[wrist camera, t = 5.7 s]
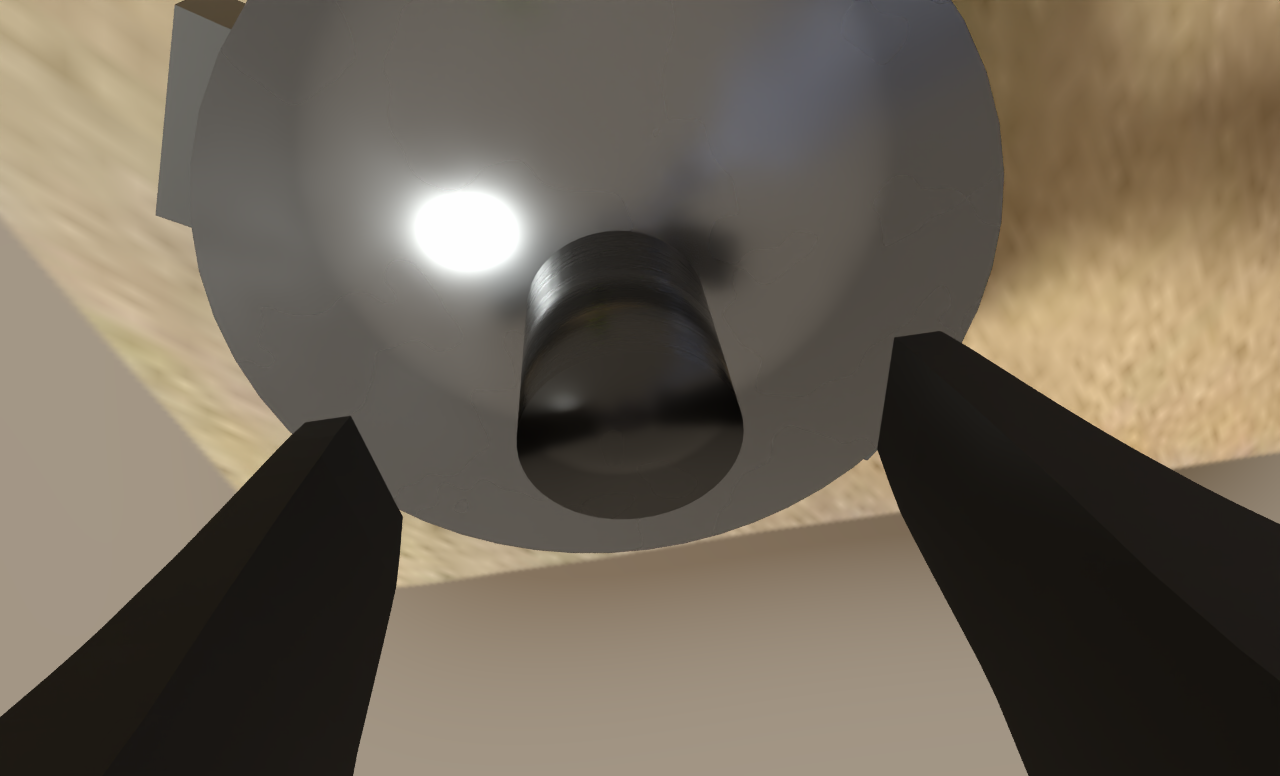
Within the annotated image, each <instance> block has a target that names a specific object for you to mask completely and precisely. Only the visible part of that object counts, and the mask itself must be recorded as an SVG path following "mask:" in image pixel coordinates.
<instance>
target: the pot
mask: <svg viewBox="0 0 1280 776" xmlns="http://www.w3.org/2000/svg"><path fill="white" fill-rule="evenodd" d="M244 6H245V3H243V2H240V1H238V0H184V1H182V2H180V3H177V4H175V8H174V19H173V30H172V41H171V52H170V63H169V74H168V85H167V96H166V107H165V118H164V129H163V140H162V151H161V162H160V173H159V183H158V194H157V205H156V216H159V217H162V218H165V219H168V220H171V221H174V222H177V223H180V224H183V225H185V226H188V227H191V228H192V226H191V220H190V163H191V157H192V150H193V144H194V138H195V132H196V125H197V119H198V113H199V108H200V105H201V102H202V100H203V97H204V94H205V91H206V88H207V85H208V82H209V79H210V76H211V73H212V70H213V67H214V64H215V61H216V58H217V56H218V53H219V51H220V49H221V47H222V46H223V44H224V42H225V40H226V38H227V36H228V35H229V33H230V31H231V29H232V27H233V26H234V24H235V22H236V20H237V18H238V16H239V15H240V13H241V11H242V9H243V7H244ZM876 451H877V448H876V449H875V450H874V451H872V452H871V453H870V454H869V455H868V456H866V457H865V458H864V459H865V460H868V459H869V458H870V457H871V456H872V455H873V454H874V453H875V452H876Z"/></svg>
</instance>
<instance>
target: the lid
mask: <svg viewBox="0 0 1280 776" xmlns="http://www.w3.org/2000/svg"><path fill="white" fill-rule="evenodd" d="M1003 184H1004V167H1003V156H1002V145H1001V135H1000V124H999V120H998V116H997V112H996V108H995V104H994V100H993V96H992V92H991V88H990V84H989V80H988V76H987V72H986V70H985V67H984V65H983V63H982V60H981V58H980V56H979V53H978V51H977V49H976V46H975V44H974V42H973V40H972V37H971V35H970V33H969V30H968V28H967V26H966V23H965V21H964V19H963V18H962V16H961V15H960V13H959V12H958V10H957V8H956V7H955V5H954V4H953V2H952V1H951V0H247V2H246V4H245V6H244V7H243V9H242V11H241V13H240V15H239V16H238V18H237V20H236V22H235V24H234V26H233V27H232V29H231V31H230V33H229V35H228V36H227V38H226V40H225V42H224V44H223V46H222V47H221V49H220V51H219V53H218V56H217V58H216V61H215V64H214V67H213V70H212V73H211V76H210V79H209V82H208V85H207V88H206V91H205V94H204V97H203V100H202V102H201V105H200V108H199V113H198V119H197V125H196V132H195V138H194V144H193V150H192V157H191V163H190V220H191V226H192V232H193V238H194V244H195V250H196V256H197V262H198V268H199V272H200V275H201V279H202V282H203V285H204V288H205V291H206V294H207V297H208V300H209V303H210V306H211V309H212V312H213V315H214V318H215V320H216V322H217V324H218V326H219V328H220V330H221V332H222V334H223V336H224V338H225V340H226V342H227V345H228V347H229V349H230V351H231V353H232V355H233V357H234V359H235V360H236V362H237V363H238V365H239V366H240V368H241V369H242V371H243V372H244V374H245V375H246V377H247V378H248V380H249V381H250V383H251V384H252V386H253V387H254V389H255V390H256V392H257V393H258V395H259V396H260V398H261V399H262V400H263V401H264V402H265V404H266V405H267V406H268V407H269V408H270V409H271V411H272V412H273V413H274V414H275V415H276V416H277V418H278V419H279V420H280V421H281V422H282V423H283V424H284V426H285V427H286V428H287V429H288V430H289V431H290V432H291V433H292V434H293V433H294V432H295V431H296V430H298V429H299V428H300V427H301V426H302V425H303V424H304V423H305V422H310V421H317V420H324V419H331V418H338V417H345V416H351V417H352V419H353V421H354V423H355V425H356V427H357V429H358V431H359V432H360V434H361V436H362V438H363V440H364V442H365V444H366V446H367V448H368V450H369V452H370V454H371V456H372V458H373V460H374V462H375V464H376V466H377V468H378V470H379V471H380V473H381V475H382V477H383V479H384V481H385V483H386V485H387V487H388V489H389V491H390V493H391V495H392V497H393V499H394V501H395V503H396V505H397V507H398V509H399V510H401V511H404V512H406V513H408V514H410V515H412V516H414V517H416V518H419V519H421V520H423V521H425V522H428V523H431V524H434V525H437V526H439V527H442V528H445V529H448V530H451V531H453V532H456V533H459V534H462V535H466V536H470V537H474V538H478V539H482V540H486V541H489V542H493V543H497V544H503V545H509V546H515V547H521V548H527V549H533V550H542V551H554V552H567V553H615V552H626V551H638V550H648V549H654V548H660V547H666V546H672V545H678V544H684V543H688V542H692V541H695V540H699V539H703V538H707V537H711V536H715V535H719V534H722V533H725V532H728V531H731V530H734V529H736V528H739V527H742V526H745V525H748V524H751V523H754V522H756V521H758V520H761V519H763V518H765V517H767V516H770V515H772V514H774V513H776V512H779V511H781V510H783V509H785V508H788V507H790V506H791V505H793V504H795V503H797V502H799V501H800V500H802V499H804V498H806V497H808V496H810V495H811V494H813V493H815V492H817V491H819V490H820V489H822V488H824V487H825V486H826V485H828V484H829V483H831V482H832V481H834V480H835V479H837V478H838V477H840V476H841V475H843V474H844V473H846V472H847V471H849V470H850V469H852V468H853V467H854V466H855V465H857V464H858V463H859V462H860V461H862V460H863V459H864V458H865V457H866V456H868V455H869V454H870V453H871V452H872V451H874V450H875V449H876V448H877V447H878V440H879V433H880V427H881V420H882V414H883V407H884V401H885V394H886V388H887V381H888V374H889V368H890V361H891V355H892V348H893V342H894V337H901V336H908V335H915V334H921V333H928V332H935V331H942V332H943V333H945V334H947V335H949V336H950V337H952V338H954V339H956V340H957V341H959V342H961V343H962V341H963V339H964V337H965V335H966V333H967V331H968V329H969V327H970V325H971V322H972V320H973V318H974V316H975V314H976V312H977V310H978V308H979V305H980V302H981V299H982V296H983V293H984V290H985V287H986V284H987V281H988V278H989V275H990V272H991V270H992V266H993V261H994V256H995V251H996V246H997V241H998V236H999V231H1000V226H1001V219H1002V202H1003Z"/></svg>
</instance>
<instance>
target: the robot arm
mask: <svg viewBox="0 0 1280 776" xmlns="http://www.w3.org/2000/svg"><path fill="white" fill-rule="evenodd" d="M877 450H878V452H879V455H880V458H881V461H882V464H883V467H884V469H885V472H886V475H887V478H888V481H889V484H890V486H891V489H892V491H893V494H894V497H895V499H896V502H897V504H898V507H899V510H900V512H901V514H902V516H903V518H904V520H905V522H906V524H907V526H908V528H909V530H910V532H911V534H912V536H913V538H914V540H915V542H916V543H917V545H918V547H919V549H920V551H921V553H922V555H923V557H924V559H925V561H926V563H927V565H928V566H929V568H930V570H931V572H932V574H933V576H934V578H935V579H936V582H937V584H938V585H939V587H940V589H941V591H942V593H943V595H944V597H945V599H946V600H947V602H948V604H949V606H950V608H951V610H952V612H953V614H954V615H955V617H956V619H957V621H958V623H959V625H960V627H961V628H962V630H963V632H964V634H965V636H966V638H967V640H968V642H969V644H970V646H971V647H972V649H973V651H974V653H975V655H976V657H977V659H978V661H979V663H980V664H981V666H982V669H983V671H984V673H985V675H986V677H987V679H988V681H989V683H990V685H991V687H992V689H993V692H994V694H995V696H996V698H997V700H998V703H999V705H1000V708H1001V710H1002V712H1003V715H1004V717H1005V720H1006V722H1007V724H1008V727H1009V729H1010V732H1011V734H1012V737H1013V739H1014V742H1015V744H1016V746H1017V749H1018V751H1019V754H1020V756H1021V759H1022V761H1023V763H1024V766H1025V768H1026V770H1027V773H1028V775H1029V776H1280V524H1278V523H1276V522H1274V521H1272V520H1270V519H1268V518H1266V517H1264V516H1261V515H1259V514H1257V513H1255V512H1253V511H1251V510H1249V509H1247V508H1245V507H1242V506H1240V505H1238V504H1236V503H1234V502H1232V501H1230V500H1228V499H1226V498H1224V497H1222V496H1220V495H1218V494H1217V493H1214V492H1213V491H1211V490H1209V489H1206V488H1205V487H1203V486H1201V485H1199V484H1197V483H1195V482H1193V481H1191V480H1190V479H1188V478H1186V477H1184V476H1182V475H1180V474H1179V473H1177V472H1175V471H1173V470H1171V469H1170V468H1168V467H1166V466H1164V465H1162V464H1160V463H1159V462H1157V461H1155V460H1153V459H1151V458H1149V457H1148V456H1146V455H1144V454H1142V453H1140V452H1139V451H1137V450H1135V449H1133V448H1131V447H1130V446H1128V445H1126V444H1124V443H1123V442H1121V441H1119V440H1118V439H1116V438H1114V437H1112V436H1111V435H1109V434H1107V433H1106V432H1104V431H1102V430H1100V429H1099V428H1097V427H1095V426H1094V425H1092V424H1090V423H1089V422H1087V421H1085V420H1084V419H1082V418H1080V417H1079V416H1077V415H1075V414H1074V413H1072V412H1071V411H1069V410H1067V409H1066V408H1064V407H1062V406H1061V405H1059V404H1057V403H1056V402H1054V401H1053V400H1051V399H1049V398H1048V397H1046V396H1045V395H1043V394H1041V393H1040V392H1038V391H1037V390H1035V389H1033V388H1032V387H1030V386H1029V385H1027V384H1026V383H1024V382H1022V381H1021V380H1019V379H1018V378H1016V377H1015V376H1013V375H1011V374H1010V373H1008V372H1007V371H1005V370H1004V369H1002V368H1000V367H999V366H997V365H996V364H994V363H993V362H991V361H989V360H988V359H986V358H985V357H983V356H981V355H980V354H978V353H977V352H975V351H974V350H972V349H970V348H969V347H967V346H966V345H964V344H962V343H961V342H959V341H957V340H956V339H954V338H952V337H950V336H949V335H947V334H945V333H943V332H942V331H935V332H928V333H921V334H915V335H908V336H901V337H894V342H893V348H892V355H891V361H890V368H889V374H888V381H887V388H886V394H885V401H884V407H883V414H882V420H881V427H880V433H879V440H878V447H877ZM402 520H403V516H402V514H401V512H400V511H399V509H398V507H397V505H396V503H395V501H394V499H393V497H392V495H391V493H390V491H389V489H388V487H387V485H386V483H385V481H384V479H383V477H382V475H381V473H380V471H379V470H378V468H377V466H376V464H375V462H374V460H373V458H372V456H371V454H370V452H369V450H368V448H367V446H366V444H365V442H364V440H363V438H362V436H361V434H360V432H359V431H358V429H357V427H356V425H355V423H354V421H353V419H352V417H351V416H345V417H338V418H331V419H324V420H317V421H310V422H305V423H304V424H303V425H302V426H301V427H300V428H299V429H298V430H296V431H295V432H294V433H293V434H292V435H291V436H290V437H289V438H288V439H287V440H286V441H285V442H284V443H283V444H282V445H281V446H280V447H279V448H278V449H277V450H276V452H275V453H274V454H273V455H272V456H271V457H270V458H269V459H268V460H267V461H266V462H265V463H264V464H263V465H262V466H261V467H260V468H259V469H258V470H257V472H256V473H255V474H254V475H253V476H252V477H251V478H250V479H249V480H248V481H247V482H246V483H245V484H244V485H243V486H242V487H241V489H240V490H239V491H238V492H237V493H236V494H235V495H234V496H233V497H232V498H231V499H230V500H229V501H228V502H227V504H225V505H224V506H223V508H222V509H221V510H220V511H219V512H218V513H217V514H216V515H215V516H214V517H213V518H212V519H211V520H210V521H209V522H208V523H207V524H206V525H205V526H204V527H203V528H202V529H201V531H199V533H198V534H197V535H196V536H195V537H194V538H193V539H192V540H191V541H190V542H189V543H188V544H187V545H186V546H185V547H184V548H183V549H182V550H181V551H180V552H179V553H178V554H177V555H176V556H175V557H174V558H173V559H172V560H171V561H170V562H169V563H168V564H167V565H166V566H165V567H164V568H163V569H162V570H161V571H160V572H159V573H158V574H157V575H156V576H155V577H154V578H153V579H152V580H151V581H150V582H149V583H148V584H146V585H145V587H143V588H142V589H141V590H140V591H139V592H138V593H137V594H136V595H135V596H134V597H133V598H132V599H131V600H130V601H129V602H128V603H127V604H126V605H125V606H124V607H123V608H122V609H121V610H120V611H119V612H118V613H117V614H116V615H115V616H114V617H113V618H112V619H111V620H109V622H108V623H106V624H105V625H104V626H103V627H102V629H100V630H99V631H98V632H97V633H96V634H95V635H94V636H93V637H92V638H90V639H89V640H88V641H87V642H86V643H85V644H84V645H83V646H82V647H81V648H80V649H78V650H77V651H76V652H75V653H74V654H73V655H72V656H71V657H69V658H68V659H67V660H66V661H65V662H64V663H63V664H62V665H60V666H59V667H58V668H57V669H56V670H55V671H54V672H53V673H51V674H50V675H49V676H48V677H47V678H46V679H44V680H43V681H42V682H41V683H40V684H38V686H36V687H35V688H34V689H33V690H31V691H30V692H29V693H28V694H27V695H26V696H24V697H23V698H22V699H21V700H20V701H19V702H17V703H16V704H15V705H14V706H13V707H11V708H10V709H9V710H8V711H7V712H6V713H4V714H3V715H2V716H1V717H0V776H353V773H354V767H355V762H356V757H357V752H358V747H359V744H360V739H361V735H362V731H363V727H364V723H365V718H366V714H367V710H368V706H369V702H370V697H371V693H372V689H373V685H374V680H375V676H376V672H377V668H378V664H379V659H380V655H381V651H382V647H383V643H384V638H385V634H386V630H387V625H388V620H389V616H390V612H391V608H392V603H393V599H394V594H395V589H396V583H397V575H398V566H399V557H400V545H401V532H402Z"/></svg>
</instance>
